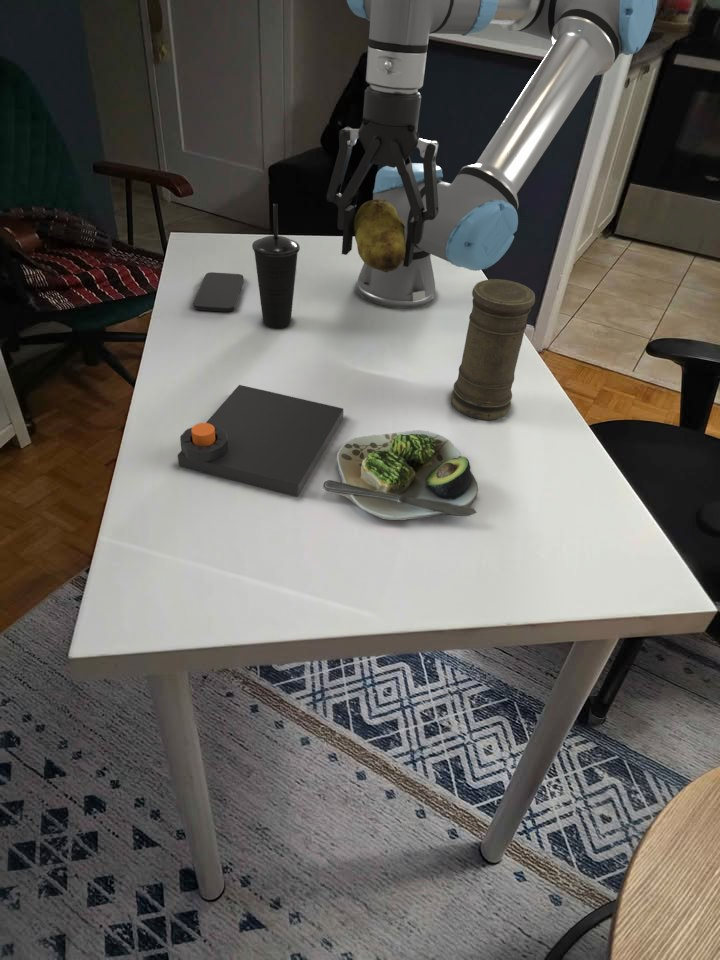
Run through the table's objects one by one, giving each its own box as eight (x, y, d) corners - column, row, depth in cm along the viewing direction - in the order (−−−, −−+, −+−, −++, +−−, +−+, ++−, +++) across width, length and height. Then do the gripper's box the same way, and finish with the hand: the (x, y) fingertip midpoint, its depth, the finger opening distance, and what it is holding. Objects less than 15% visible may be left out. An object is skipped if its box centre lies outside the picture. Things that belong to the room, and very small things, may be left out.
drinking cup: (271, 336, 110) (269, 215, 97) (246, 319, 114) (241, 201, 101) (307, 325, 114) (309, 207, 101) (281, 309, 118) (280, 194, 105)
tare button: (199, 431, 82) (198, 420, 81) (219, 436, 82) (218, 425, 81) (188, 444, 80) (187, 432, 79) (209, 449, 80) (208, 437, 79)
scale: (237, 395, 95) (236, 374, 93) (343, 419, 92) (344, 398, 90) (175, 467, 81) (171, 445, 79) (296, 499, 78) (296, 476, 76)
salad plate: (336, 543, 73) (338, 513, 70) (307, 449, 86) (308, 420, 83) (494, 523, 78) (502, 494, 75) (443, 436, 91) (448, 408, 88)
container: (510, 424, 94) (540, 309, 83) (448, 415, 95) (470, 300, 83) (509, 392, 101) (537, 281, 89) (452, 384, 102) (472, 273, 90)
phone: (191, 305, 114) (206, 271, 126) (191, 310, 115) (206, 275, 126) (233, 308, 115) (244, 274, 126) (233, 312, 115) (244, 278, 127)
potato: (346, 273, 94) (349, 217, 89) (354, 243, 104) (357, 191, 99) (402, 279, 94) (409, 223, 89) (405, 249, 104) (411, 197, 99)
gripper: (305, 80, 84) (301, 252, 98) (470, 104, 80) (441, 279, 94) (325, 73, 90) (318, 237, 104) (479, 95, 86) (451, 262, 100)
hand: (376, 257), depth 99 cm, fingers closed on potato, 9 cm apart
